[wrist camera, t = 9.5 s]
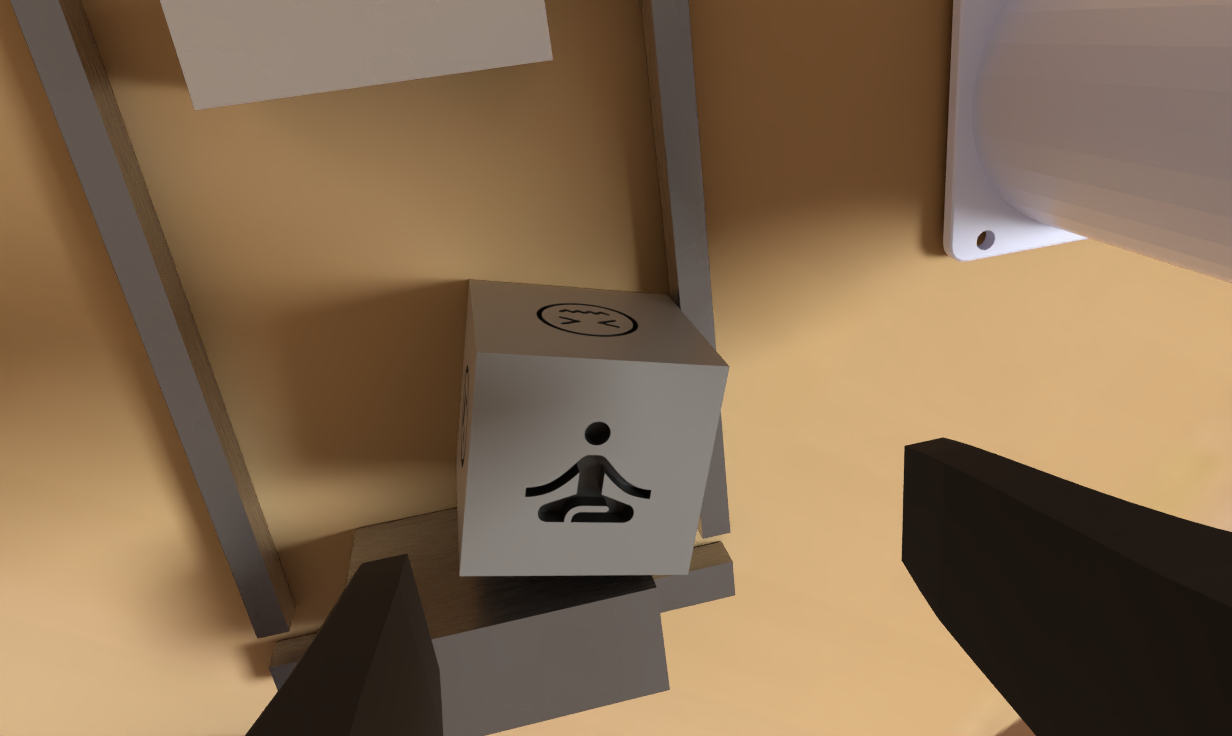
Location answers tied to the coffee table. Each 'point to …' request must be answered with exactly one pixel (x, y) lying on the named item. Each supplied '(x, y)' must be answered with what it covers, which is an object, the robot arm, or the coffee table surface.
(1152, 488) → the coffee table surface
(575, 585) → the grey rail frame
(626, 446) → the grey marked cube
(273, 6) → the l-shaped block holder
